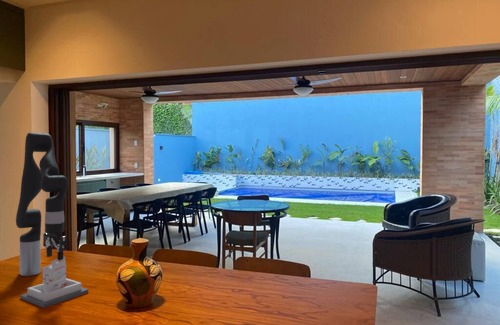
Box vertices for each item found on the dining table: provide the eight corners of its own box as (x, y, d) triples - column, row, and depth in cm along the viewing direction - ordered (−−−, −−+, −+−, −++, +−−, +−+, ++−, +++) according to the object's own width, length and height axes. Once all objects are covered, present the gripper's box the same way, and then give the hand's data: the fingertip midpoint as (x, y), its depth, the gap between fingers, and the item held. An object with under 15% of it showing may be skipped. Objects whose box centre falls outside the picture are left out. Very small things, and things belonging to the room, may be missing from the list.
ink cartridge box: (57, 287, 168) (57, 255, 168) (66, 288, 167) (66, 255, 167) (42, 294, 160) (42, 260, 160) (52, 295, 159) (52, 261, 158)
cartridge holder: (20, 298, 160) (20, 288, 160) (65, 284, 177) (65, 275, 176) (43, 308, 150) (43, 297, 150) (88, 292, 167) (88, 282, 167)
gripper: (37, 220, 163) (37, 257, 164) (55, 224, 156) (55, 263, 156) (53, 218, 170) (54, 253, 170) (72, 221, 162) (72, 258, 162)
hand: (54, 258), depth 163 cm, fingers open, 8 cm apart
